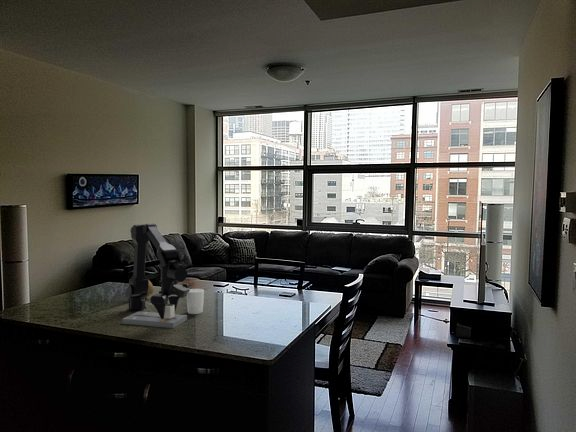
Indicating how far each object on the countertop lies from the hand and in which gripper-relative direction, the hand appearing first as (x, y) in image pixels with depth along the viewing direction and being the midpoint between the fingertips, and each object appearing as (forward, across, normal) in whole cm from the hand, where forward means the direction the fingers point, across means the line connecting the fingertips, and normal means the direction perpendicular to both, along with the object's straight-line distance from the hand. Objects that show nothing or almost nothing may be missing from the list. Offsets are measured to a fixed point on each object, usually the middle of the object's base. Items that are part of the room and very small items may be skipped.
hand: (168, 315), depth 180 cm
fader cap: (+1, 0, 0) cm, 1 cm away
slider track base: (+3, 0, +6) cm, 7 cm away
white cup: (+3, +18, -4) cm, 19 cm away
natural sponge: (+3, +35, +32) cm, 48 cm away
